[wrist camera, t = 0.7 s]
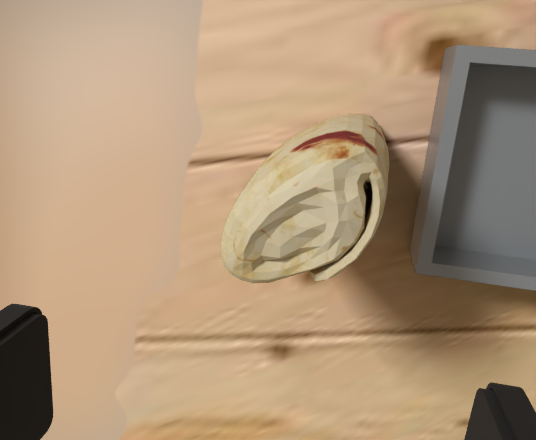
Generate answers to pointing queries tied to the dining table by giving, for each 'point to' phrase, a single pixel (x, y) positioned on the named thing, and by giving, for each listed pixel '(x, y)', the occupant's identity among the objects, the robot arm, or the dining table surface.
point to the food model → (310, 203)
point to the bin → (480, 171)
